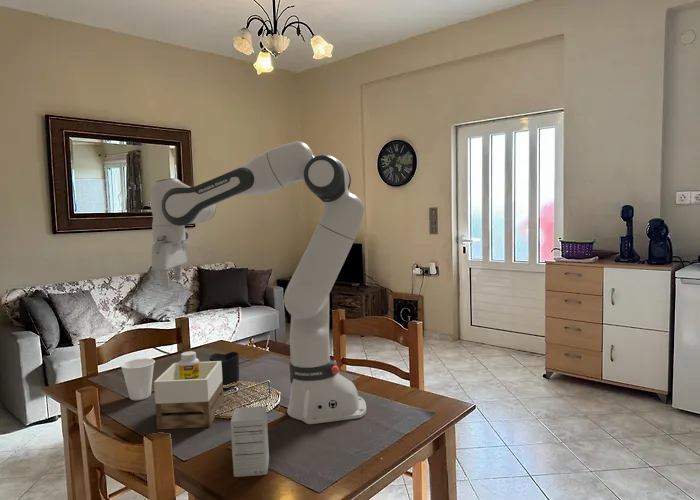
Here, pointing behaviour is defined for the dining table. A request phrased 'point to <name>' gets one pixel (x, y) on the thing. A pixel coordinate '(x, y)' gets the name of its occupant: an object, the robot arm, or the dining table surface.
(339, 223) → the robot arm
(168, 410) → the lower crate
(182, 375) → the supplement bottle
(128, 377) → the cup
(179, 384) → the upper crate
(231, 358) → the pen holder
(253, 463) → the supplement box
